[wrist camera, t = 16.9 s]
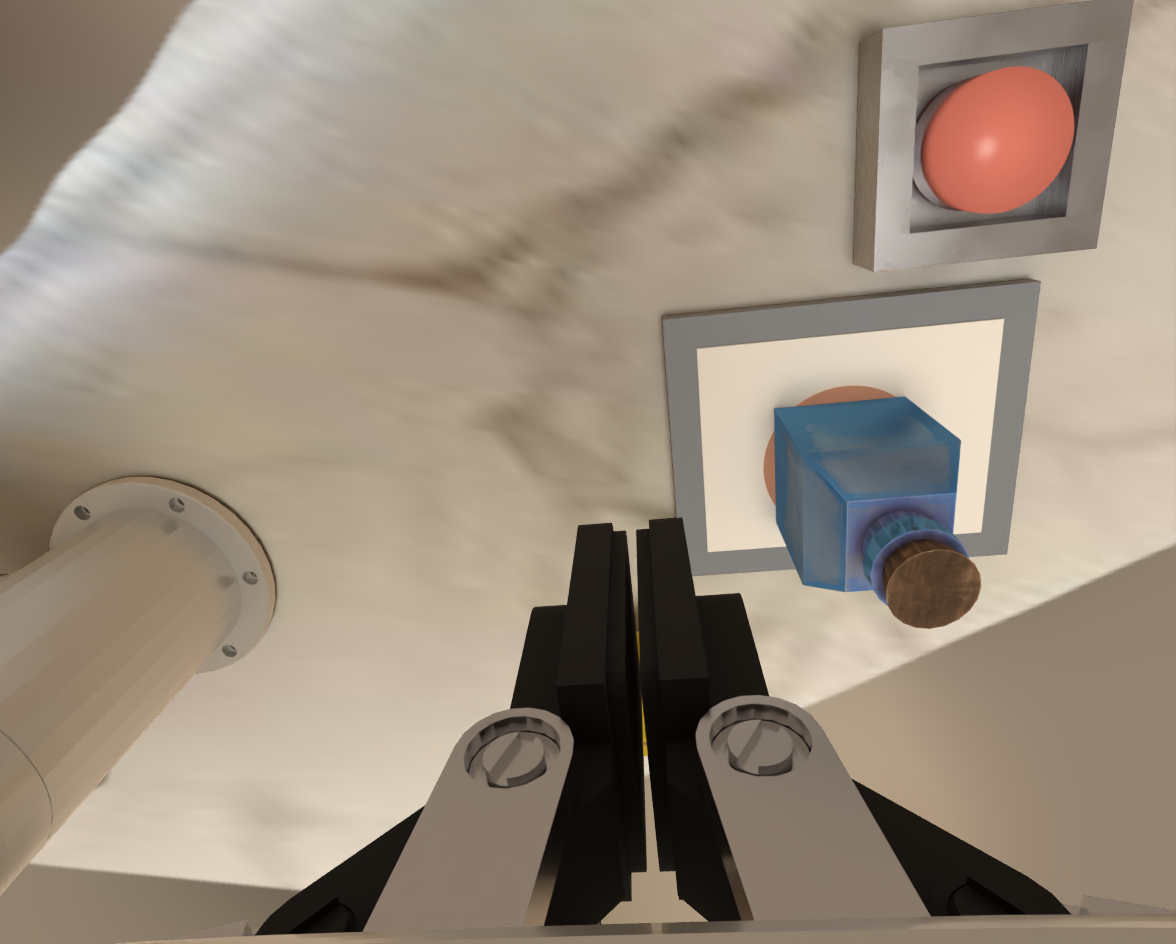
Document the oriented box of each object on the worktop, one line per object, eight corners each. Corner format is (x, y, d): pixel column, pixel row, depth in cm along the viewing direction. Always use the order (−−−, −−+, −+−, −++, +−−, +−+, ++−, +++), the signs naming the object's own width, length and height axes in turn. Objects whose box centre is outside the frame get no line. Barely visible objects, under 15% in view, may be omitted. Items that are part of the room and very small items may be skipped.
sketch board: (679, 567, 40) (681, 579, 39) (661, 316, 35) (663, 321, 33) (997, 545, 38) (1009, 556, 37) (1029, 278, 33) (1043, 282, 32)
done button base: (853, 264, 33) (873, 271, 30) (859, 42, 30) (883, 28, 27) (1056, 242, 32) (1096, 248, 30) (1085, 12, 29) (1134, -6, 26)
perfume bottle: (898, 512, 36) (1017, 658, 25) (775, 522, 37) (839, 669, 26) (905, 396, 34) (1038, 501, 23) (773, 408, 35) (842, 516, 24)
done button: (906, 217, 31) (929, 220, 29) (913, 84, 29) (938, 76, 27) (1030, 203, 31) (1064, 205, 28) (1045, 67, 29) (1083, 57, 26)
